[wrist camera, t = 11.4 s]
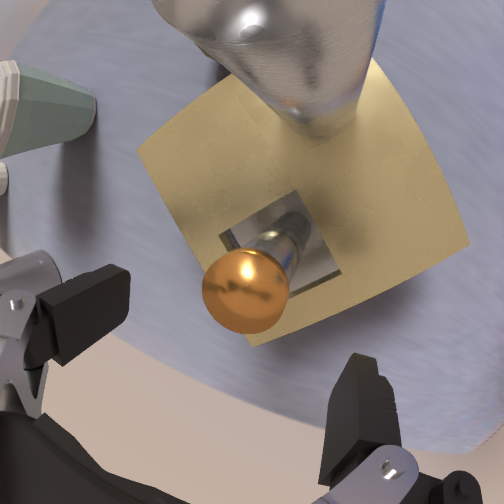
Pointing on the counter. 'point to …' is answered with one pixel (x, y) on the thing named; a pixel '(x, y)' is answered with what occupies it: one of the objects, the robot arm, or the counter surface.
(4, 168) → the paper towel roll
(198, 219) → the tan and silver stand
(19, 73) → the disposable coffee cup
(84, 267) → the counter surface
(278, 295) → the copper-capped metal rod
